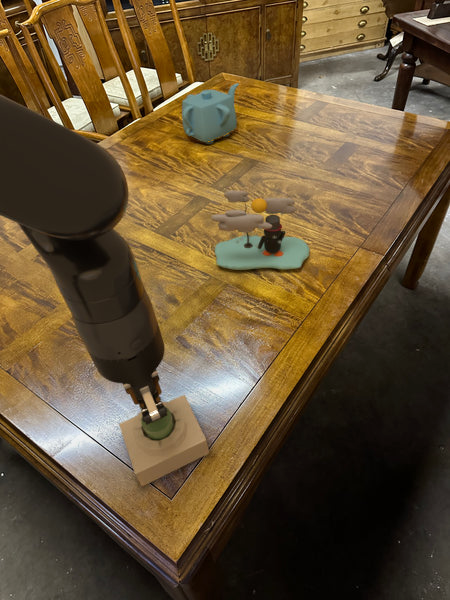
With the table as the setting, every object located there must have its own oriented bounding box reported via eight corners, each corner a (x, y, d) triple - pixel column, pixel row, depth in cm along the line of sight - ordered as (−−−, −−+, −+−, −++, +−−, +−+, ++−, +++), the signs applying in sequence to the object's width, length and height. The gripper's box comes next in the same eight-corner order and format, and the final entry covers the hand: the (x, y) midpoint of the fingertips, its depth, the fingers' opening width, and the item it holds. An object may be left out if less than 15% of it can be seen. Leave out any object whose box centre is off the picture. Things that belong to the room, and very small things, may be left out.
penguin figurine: (309, 243, 90) (314, 179, 79) (308, 276, 83) (313, 210, 72) (218, 241, 93) (211, 179, 83) (210, 272, 86) (200, 209, 75)
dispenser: (142, 486, 56) (131, 467, 52) (126, 437, 62) (115, 416, 57) (209, 453, 59) (204, 432, 54) (188, 408, 64) (182, 386, 60)
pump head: (149, 445, 54) (146, 437, 53) (140, 420, 57) (137, 412, 56) (178, 431, 55) (175, 424, 54) (168, 408, 58) (165, 400, 57)
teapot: (231, 147, 126) (228, 101, 117) (179, 147, 129) (172, 102, 120) (241, 122, 138) (239, 79, 129) (193, 123, 142) (188, 80, 132)
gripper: (71, 301, 46) (114, 388, 58) (98, 393, 37) (143, 473, 49) (136, 277, 47) (165, 367, 60) (177, 359, 39) (201, 445, 51)
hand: (155, 415), depth 54 cm, fingers closed
